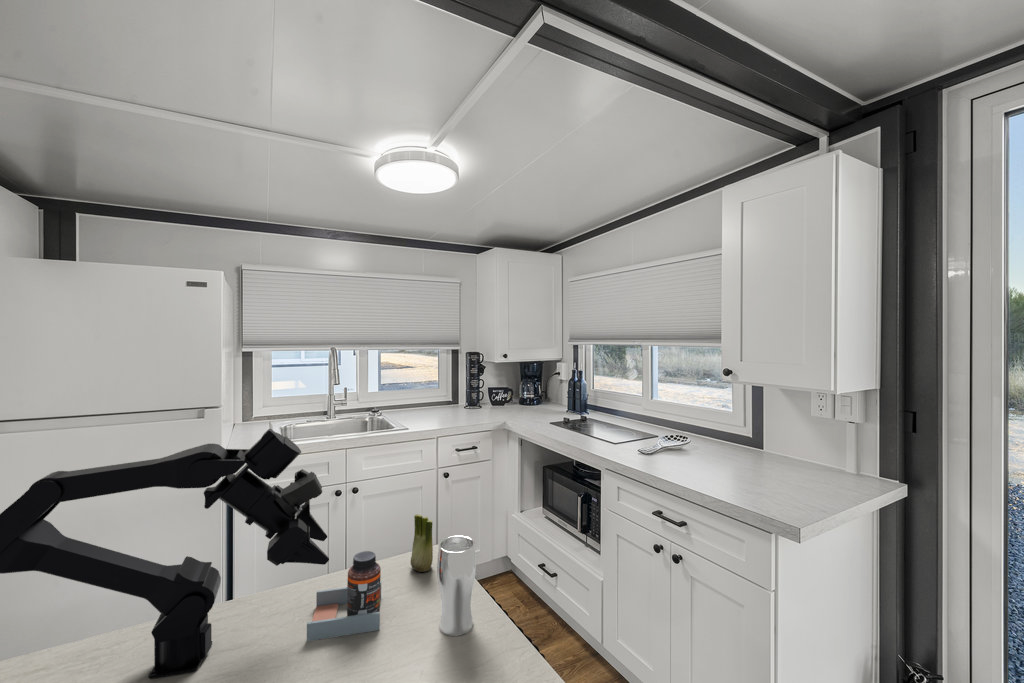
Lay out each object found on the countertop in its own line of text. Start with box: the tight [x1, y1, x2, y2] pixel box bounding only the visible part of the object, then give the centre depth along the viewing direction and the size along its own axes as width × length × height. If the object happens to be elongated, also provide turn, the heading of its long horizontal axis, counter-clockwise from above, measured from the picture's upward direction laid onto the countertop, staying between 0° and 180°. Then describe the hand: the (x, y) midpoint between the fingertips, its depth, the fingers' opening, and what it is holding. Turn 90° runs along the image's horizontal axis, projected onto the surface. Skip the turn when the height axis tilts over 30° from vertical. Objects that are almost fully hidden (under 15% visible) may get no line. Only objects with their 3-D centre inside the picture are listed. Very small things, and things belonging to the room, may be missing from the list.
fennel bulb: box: [410, 514, 434, 573], centre depth 99 cm, size 6×5×12 cm
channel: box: [306, 582, 382, 642], centre depth 82 cm, size 12×10×3 cm
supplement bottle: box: [346, 550, 382, 617], centre depth 82 cm, size 6×6×11 cm
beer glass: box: [436, 535, 477, 637], centre depth 80 cm, size 7×7×15 cm
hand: (326, 549), depth 79 cm, fingers open, 9 cm apart
